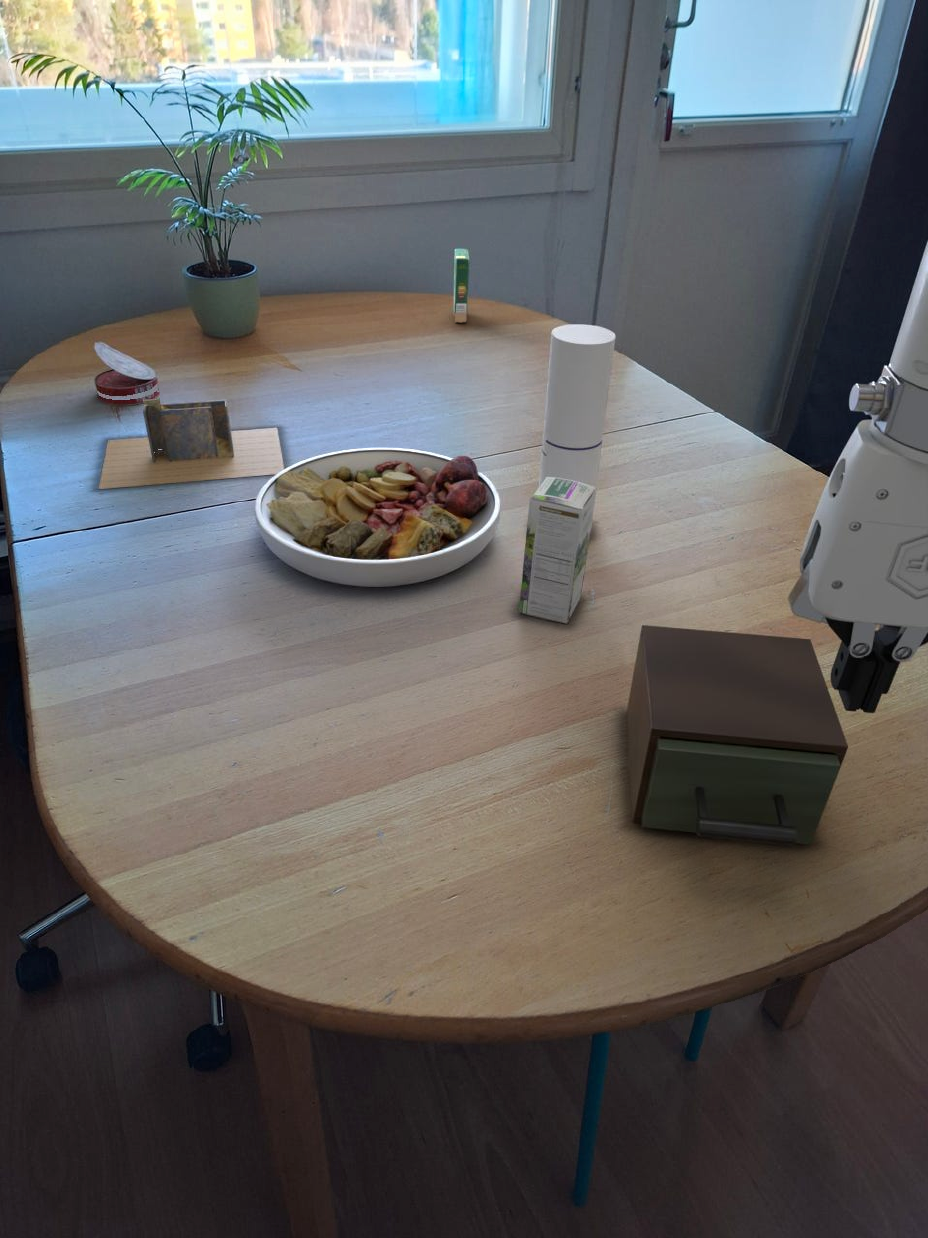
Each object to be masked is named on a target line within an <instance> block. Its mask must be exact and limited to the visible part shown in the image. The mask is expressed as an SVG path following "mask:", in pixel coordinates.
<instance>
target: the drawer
mask: <svg viewBox="0 0 928 1238" xmlns="http://www.w3.org/2000/svg"><path fill="white" fill-rule="evenodd" d="M819 753H820V752H818V751H807V750H797V749H786V748H776V747H765V746H754V747H745V746H734V745H724V744H713V743H710V741H701V740H691V739H680V738H669V737H660V738H658V740H657V744H656V749H655V754H654V759H653V764H652V768H651V773H650V778H649V783H648V788H647V792H646V797H645V802H644V807H643V811H642V816H641V817H642V823H641V827H642V828H648V829H657V830H667V831H677V832H686V833H687V832H688V833H696V836H697V837H701V838H702V837H703V838H713V839H721V840H732V841H740V842H741V841H742V842H751V843H752V842H753V843H761V844H769V845H770V844H771V845H780V846H781V845H782V846H789V847H790V846H791V847H793V846H795V845H796V844H805V845H811V844H812V841H813V840H812V839H814V837H815V834H816V832H817V830H818V827H819V825H818V823H819V824H820V822H821V819H822V817H821V816H823V814H824V812H823V810H824V811H825V809H826V806H827V804H826V803H828V801H829V799H828V797H829V798H830V796H831V793H832V791H833V788H834V786H833V784H834V785H835V783H836V780H837V778H838V775H839V773H838V771H839V772H840V770H841V767H840V763H839V760H838V757H837V755H830V754H819ZM839 769H840V770H839ZM837 774H838V775H837ZM836 777H837V778H836ZM835 779H836V780H835ZM834 782H835V783H834ZM832 787H833V788H832ZM831 790H832V791H831ZM830 792H831V793H830ZM829 795H830V796H829ZM827 800H828V801H827ZM825 805H826V806H825ZM824 808H825V809H824ZM822 813H823V814H822ZM820 818H821V819H820ZM819 821H820V822H819ZM817 826H818V827H817ZM816 829H817V830H816ZM815 831H816V832H815ZM813 836H814V837H813Z"/></svg>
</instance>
